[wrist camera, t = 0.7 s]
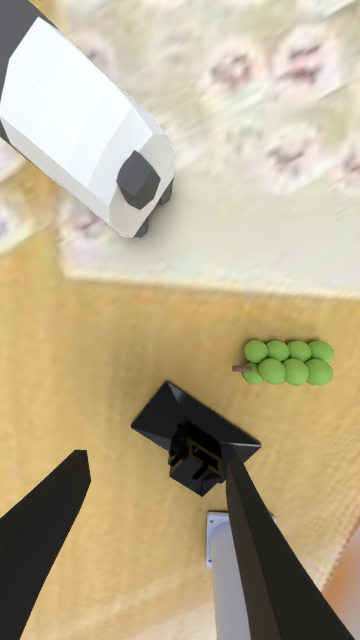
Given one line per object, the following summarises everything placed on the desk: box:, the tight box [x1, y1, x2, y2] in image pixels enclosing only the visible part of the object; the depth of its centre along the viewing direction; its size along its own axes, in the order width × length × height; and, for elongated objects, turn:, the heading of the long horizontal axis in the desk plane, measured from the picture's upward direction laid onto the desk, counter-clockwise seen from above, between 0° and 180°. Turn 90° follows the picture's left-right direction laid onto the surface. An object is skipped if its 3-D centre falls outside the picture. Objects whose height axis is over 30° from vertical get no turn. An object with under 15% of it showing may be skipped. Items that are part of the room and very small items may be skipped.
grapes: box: [232, 340, 334, 386], centre depth 16 cm, size 4×9×4 cm, turn 91°
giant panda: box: [0, 0, 175, 238], centre depth 10 cm, size 15×6×10 cm, turn 51°
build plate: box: [131, 380, 261, 497], centre depth 18 cm, size 12×7×5 cm, turn 55°
